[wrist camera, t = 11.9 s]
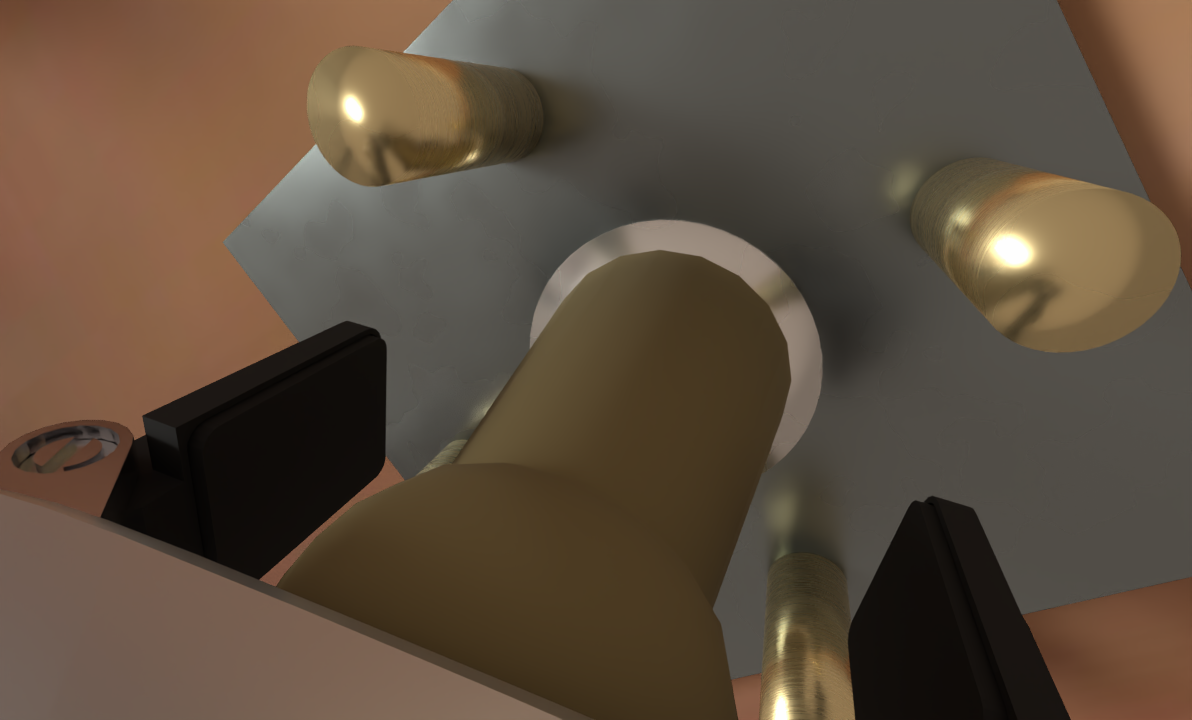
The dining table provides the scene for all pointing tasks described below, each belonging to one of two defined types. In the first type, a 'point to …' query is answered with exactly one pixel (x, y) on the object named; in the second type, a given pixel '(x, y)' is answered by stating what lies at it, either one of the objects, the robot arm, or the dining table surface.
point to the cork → (585, 502)
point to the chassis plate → (780, 272)
